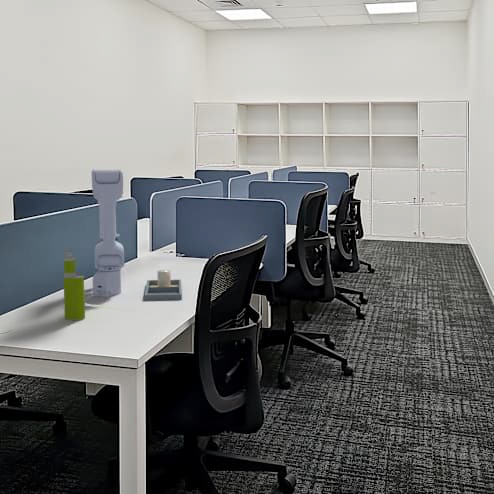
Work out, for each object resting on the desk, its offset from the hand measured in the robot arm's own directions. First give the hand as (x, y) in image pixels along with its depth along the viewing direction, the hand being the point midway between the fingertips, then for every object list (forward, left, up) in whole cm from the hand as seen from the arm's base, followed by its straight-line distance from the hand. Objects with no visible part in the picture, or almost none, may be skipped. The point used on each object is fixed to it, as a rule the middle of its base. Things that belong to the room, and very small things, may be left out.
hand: (108, 260), depth 246 cm
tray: (-2, -25, -9) cm, 27 cm away
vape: (-41, -20, -10) cm, 47 cm away
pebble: (+3, -22, -8) cm, 24 cm away
